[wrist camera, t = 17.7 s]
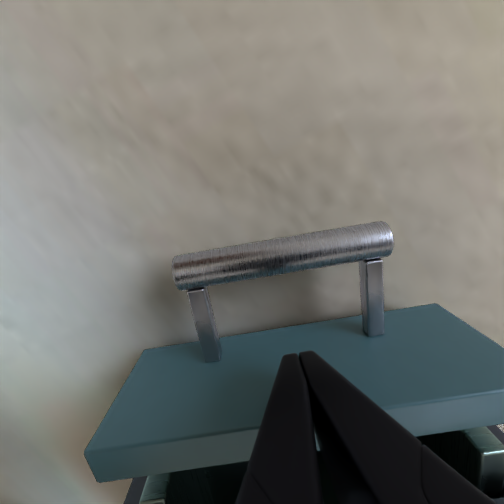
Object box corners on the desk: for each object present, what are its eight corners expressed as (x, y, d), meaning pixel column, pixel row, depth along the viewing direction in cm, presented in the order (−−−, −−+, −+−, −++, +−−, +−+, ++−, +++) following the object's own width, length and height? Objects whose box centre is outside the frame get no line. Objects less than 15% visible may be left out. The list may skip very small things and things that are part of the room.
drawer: (113, 258, 10) (14, 318, 6) (440, 202, 9) (590, 223, 5) (207, 535, 14) (191, 679, 10) (428, 504, 14) (503, 640, 10)
